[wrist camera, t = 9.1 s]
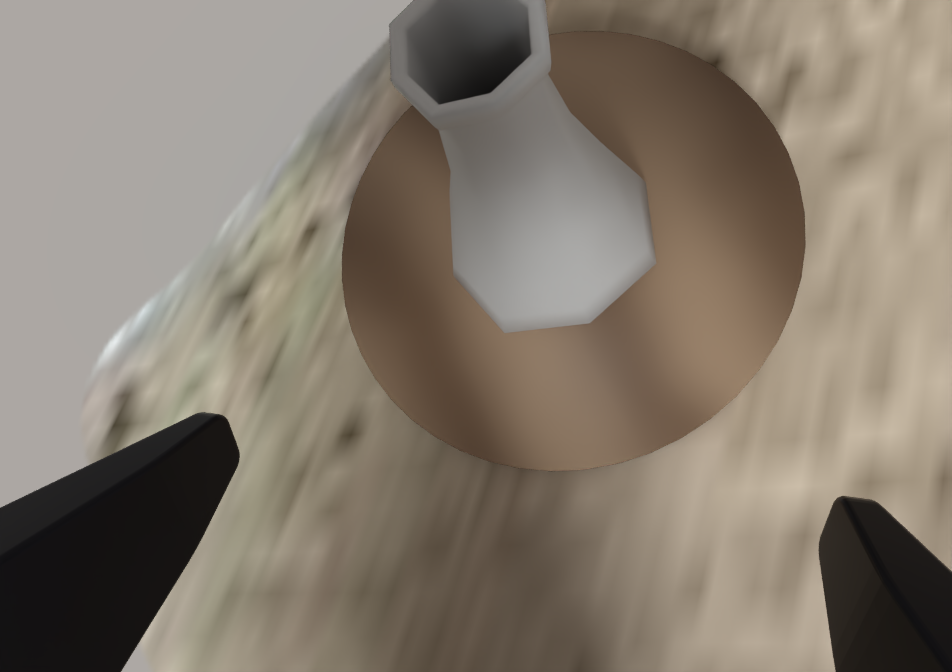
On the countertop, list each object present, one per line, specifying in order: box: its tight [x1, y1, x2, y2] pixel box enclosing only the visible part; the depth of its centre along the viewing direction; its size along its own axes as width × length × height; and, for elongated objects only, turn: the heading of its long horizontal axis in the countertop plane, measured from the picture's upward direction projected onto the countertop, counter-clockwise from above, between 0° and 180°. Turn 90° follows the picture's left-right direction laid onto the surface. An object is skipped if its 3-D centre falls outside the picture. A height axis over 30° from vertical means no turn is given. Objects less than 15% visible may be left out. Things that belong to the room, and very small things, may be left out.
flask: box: [389, 0, 656, 333], centre depth 15 cm, size 7×7×10 cm
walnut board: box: [342, 31, 805, 471], centre depth 21 cm, size 16×16×1 cm
